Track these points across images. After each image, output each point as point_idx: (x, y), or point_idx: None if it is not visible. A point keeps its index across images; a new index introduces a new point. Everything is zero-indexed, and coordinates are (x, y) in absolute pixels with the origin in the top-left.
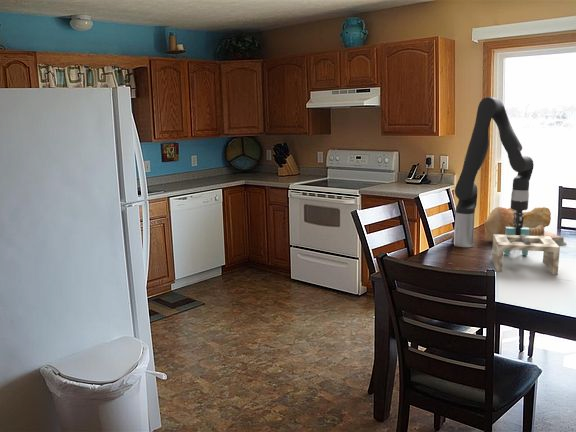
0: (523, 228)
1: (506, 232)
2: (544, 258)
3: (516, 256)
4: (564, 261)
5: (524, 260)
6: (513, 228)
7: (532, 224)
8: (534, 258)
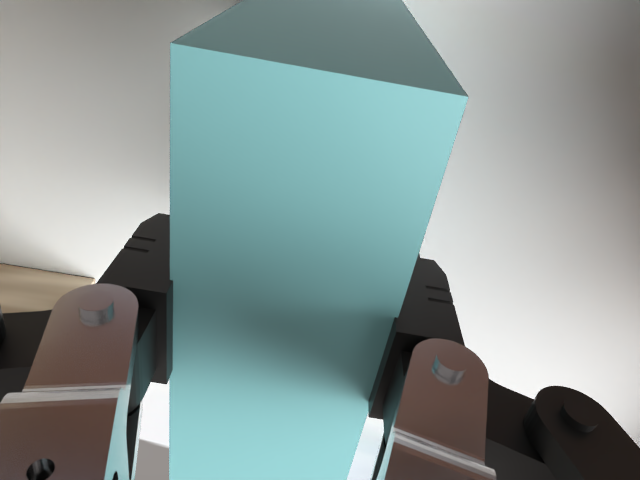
0: (244, 430)
1: (225, 23)
2: (9, 298)
3: None
4: (152, 412)
5: (107, 141)
6: (205, 242)
7: None
8: None
